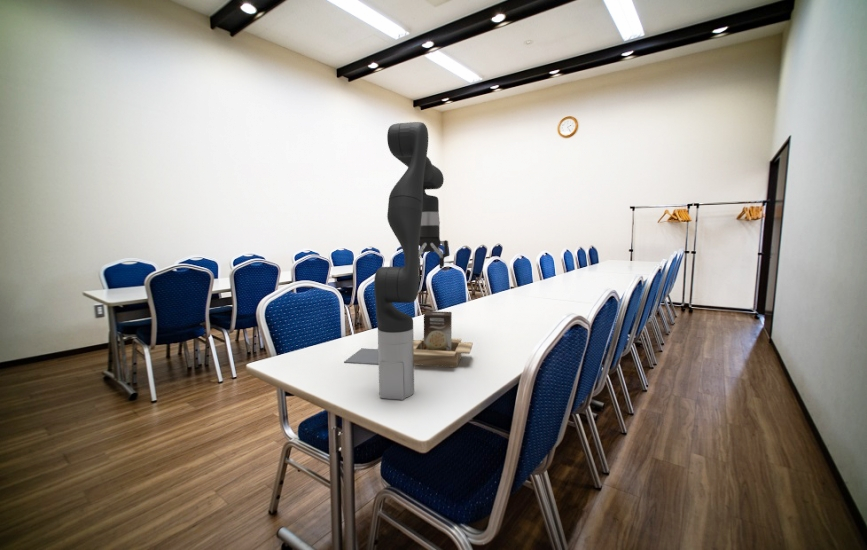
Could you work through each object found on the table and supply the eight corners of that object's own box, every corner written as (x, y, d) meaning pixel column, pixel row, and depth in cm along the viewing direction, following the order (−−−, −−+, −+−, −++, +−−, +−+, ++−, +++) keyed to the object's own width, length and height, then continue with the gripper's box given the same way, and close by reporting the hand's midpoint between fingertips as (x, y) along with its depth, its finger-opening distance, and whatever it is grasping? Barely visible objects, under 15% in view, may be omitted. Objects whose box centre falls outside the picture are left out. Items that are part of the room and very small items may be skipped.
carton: (468, 372, 111) (468, 356, 111) (397, 368, 116) (397, 352, 115) (473, 353, 130) (473, 339, 130) (412, 350, 134) (412, 336, 134)
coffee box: (423, 363, 120) (422, 314, 119) (425, 357, 127) (424, 310, 125) (451, 364, 119) (450, 315, 118) (452, 357, 126) (451, 311, 124)
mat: (384, 365, 119) (384, 364, 119) (344, 362, 121) (344, 361, 121) (398, 351, 133) (398, 350, 133) (361, 349, 136) (361, 348, 136)
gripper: (408, 224, 135) (408, 269, 136) (446, 224, 132) (447, 269, 134) (413, 225, 142) (413, 267, 144) (449, 224, 139) (450, 267, 141)
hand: (429, 268), depth 139 cm, fingers open, 8 cm apart
